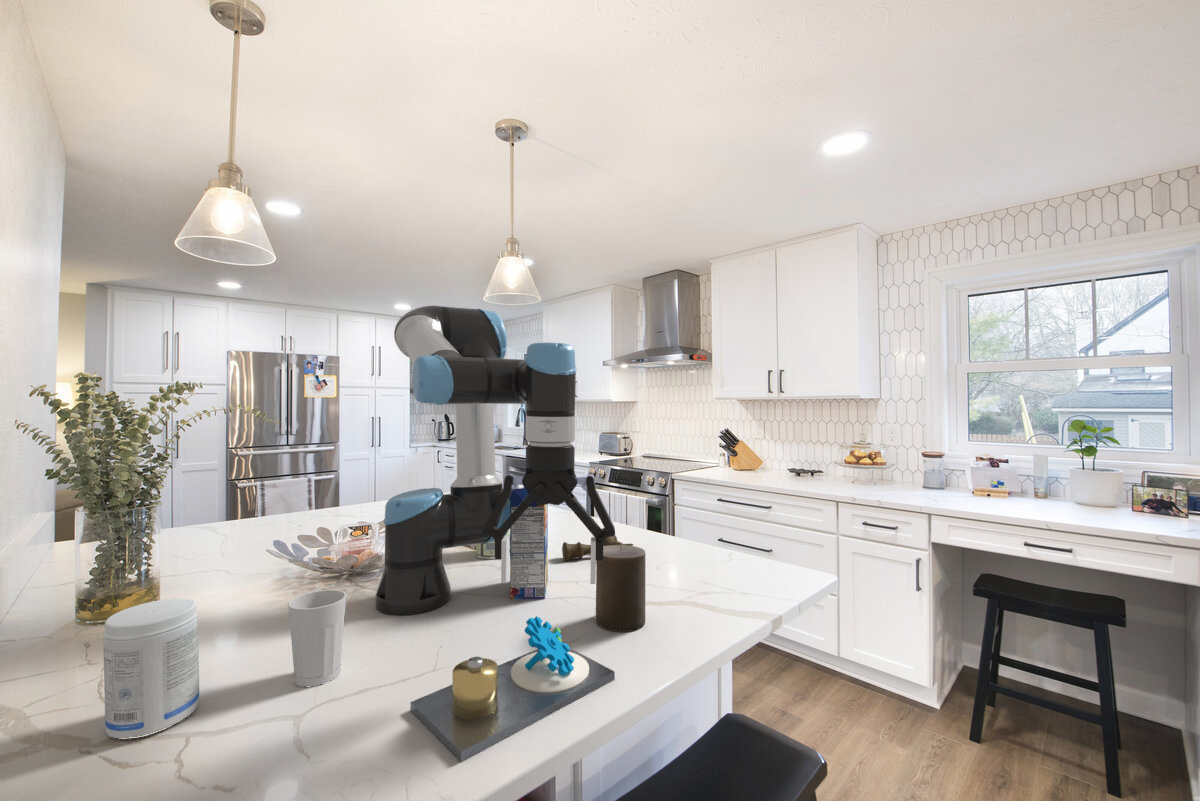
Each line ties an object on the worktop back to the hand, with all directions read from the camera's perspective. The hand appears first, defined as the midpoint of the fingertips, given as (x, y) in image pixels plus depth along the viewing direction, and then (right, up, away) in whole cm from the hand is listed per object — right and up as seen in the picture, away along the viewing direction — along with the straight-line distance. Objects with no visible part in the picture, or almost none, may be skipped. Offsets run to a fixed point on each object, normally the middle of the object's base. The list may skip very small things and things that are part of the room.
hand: (549, 580), depth 79 cm
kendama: (+8, -16, +61) cm, 64 cm away
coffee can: (-22, -16, +64) cm, 70 cm away
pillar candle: (+12, -15, +20) cm, 28 cm away
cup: (-36, -15, 0) cm, 39 cm away
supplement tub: (-52, -15, -11) cm, 55 cm away
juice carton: (-8, -15, +37) cm, 41 cm away
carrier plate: (-4, -15, -5) cm, 16 cm away
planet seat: (0, -14, 0) cm, 14 cm away
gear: (0, -14, 0) cm, 14 cm away
